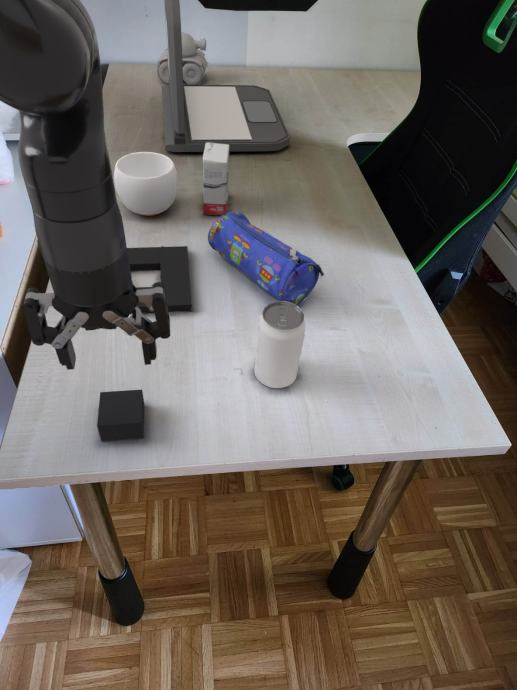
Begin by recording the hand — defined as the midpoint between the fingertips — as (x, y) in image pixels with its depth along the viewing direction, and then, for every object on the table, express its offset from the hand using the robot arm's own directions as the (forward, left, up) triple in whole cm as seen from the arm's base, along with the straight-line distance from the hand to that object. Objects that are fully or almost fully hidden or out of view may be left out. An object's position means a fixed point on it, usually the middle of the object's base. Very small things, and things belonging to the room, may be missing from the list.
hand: (110, 361), depth 59 cm
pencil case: (+23, +31, -14) cm, 41 cm away
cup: (+3, +55, -14) cm, 57 cm away
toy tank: (+13, +129, -14) cm, 130 cm away
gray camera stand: (+22, +98, -14) cm, 101 cm away
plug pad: (0, +1, -14) cm, 14 cm away
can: (+22, +8, -14) cm, 27 cm away
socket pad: (+2, +31, -14) cm, 34 cm away
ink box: (+17, +56, -14) cm, 60 cm away
